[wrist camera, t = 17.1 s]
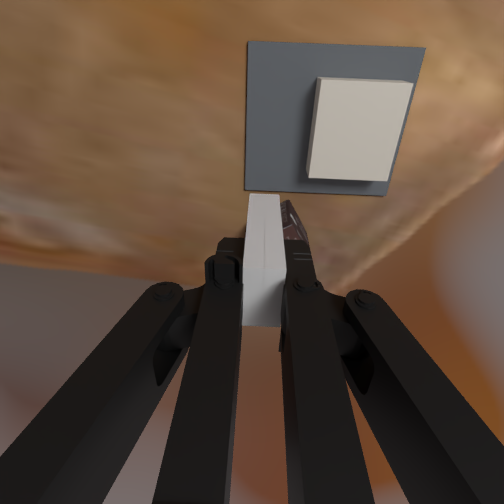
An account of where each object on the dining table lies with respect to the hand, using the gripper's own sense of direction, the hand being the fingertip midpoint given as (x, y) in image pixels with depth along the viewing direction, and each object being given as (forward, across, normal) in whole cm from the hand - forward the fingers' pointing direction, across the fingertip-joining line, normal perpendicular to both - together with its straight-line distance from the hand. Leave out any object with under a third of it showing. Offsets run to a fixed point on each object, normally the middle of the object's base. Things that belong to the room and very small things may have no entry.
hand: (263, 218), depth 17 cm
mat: (+24, +7, 0) cm, 25 cm away
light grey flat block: (+22, +5, 0) cm, 23 cm away
